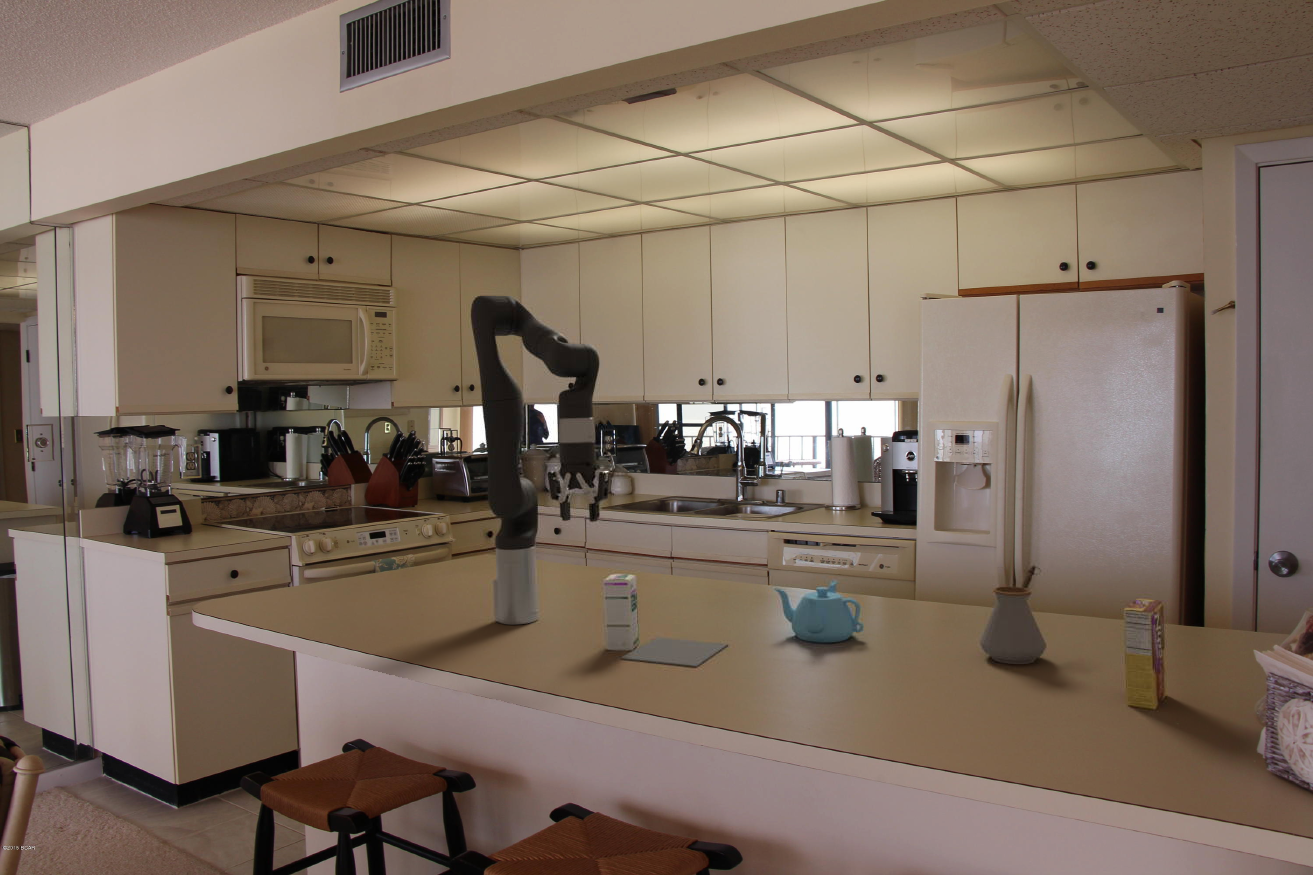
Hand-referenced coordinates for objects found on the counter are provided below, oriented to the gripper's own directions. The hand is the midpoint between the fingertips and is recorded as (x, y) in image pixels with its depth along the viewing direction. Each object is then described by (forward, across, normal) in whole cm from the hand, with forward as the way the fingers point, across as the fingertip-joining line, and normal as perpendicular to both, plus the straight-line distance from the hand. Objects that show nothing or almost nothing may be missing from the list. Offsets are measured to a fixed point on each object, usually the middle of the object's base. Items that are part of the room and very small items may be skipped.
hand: (580, 520), depth 187 cm
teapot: (+26, +44, +21) cm, 55 cm away
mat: (+26, +21, 0) cm, 33 cm away
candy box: (+26, +103, 0) cm, 106 cm away
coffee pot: (+26, +83, +22) cm, 90 cm away
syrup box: (+26, +9, 0) cm, 27 cm away
